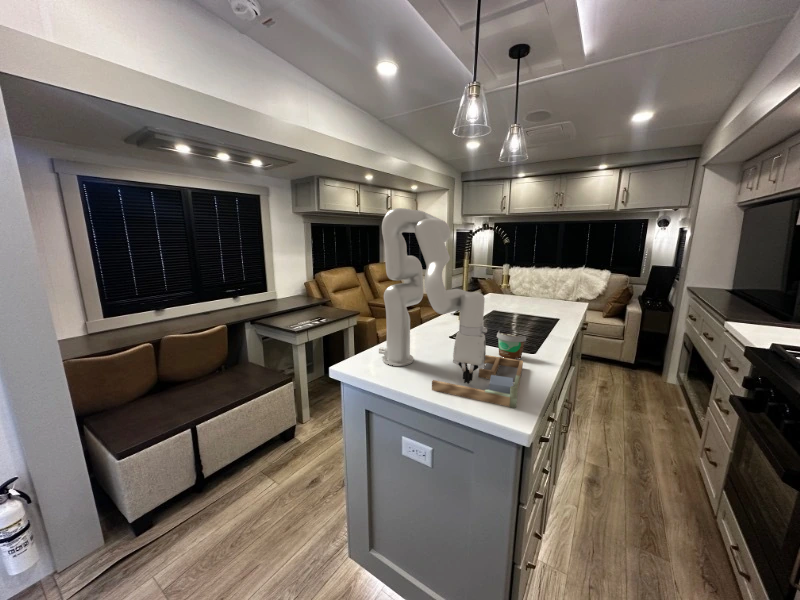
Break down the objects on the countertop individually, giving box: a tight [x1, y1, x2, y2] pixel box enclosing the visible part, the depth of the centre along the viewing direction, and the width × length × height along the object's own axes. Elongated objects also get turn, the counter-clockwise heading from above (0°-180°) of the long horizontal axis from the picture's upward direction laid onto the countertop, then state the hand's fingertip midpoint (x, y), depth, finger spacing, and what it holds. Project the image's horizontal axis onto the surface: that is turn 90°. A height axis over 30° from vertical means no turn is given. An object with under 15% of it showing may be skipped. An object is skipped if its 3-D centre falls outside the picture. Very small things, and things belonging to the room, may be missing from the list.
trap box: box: [431, 354, 524, 409], centre depth 109 cm, size 26×33×6 cm
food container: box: [496, 330, 527, 360], centre depth 129 cm, size 12×6×10 cm, turn 47°
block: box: [488, 375, 514, 394], centre depth 100 cm, size 7×7×4 cm
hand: (467, 381), depth 104 cm, fingers closed
